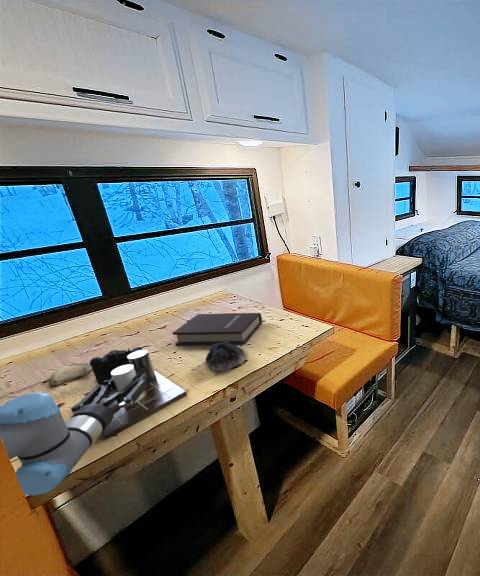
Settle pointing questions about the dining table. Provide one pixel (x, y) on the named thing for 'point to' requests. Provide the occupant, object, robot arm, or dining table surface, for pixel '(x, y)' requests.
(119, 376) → the white plastic cylinder
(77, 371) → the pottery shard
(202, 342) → the book
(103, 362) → the camera
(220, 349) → the crystal cluster
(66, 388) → the dining table surface
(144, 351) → the shiny metal cylinder
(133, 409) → the grid board
